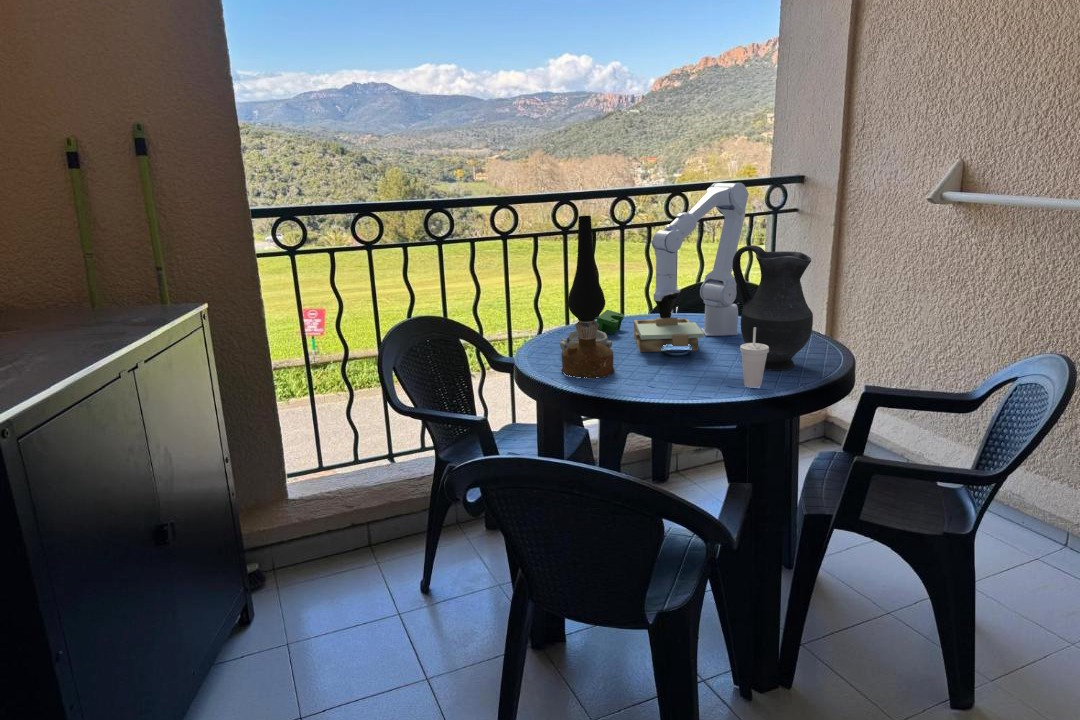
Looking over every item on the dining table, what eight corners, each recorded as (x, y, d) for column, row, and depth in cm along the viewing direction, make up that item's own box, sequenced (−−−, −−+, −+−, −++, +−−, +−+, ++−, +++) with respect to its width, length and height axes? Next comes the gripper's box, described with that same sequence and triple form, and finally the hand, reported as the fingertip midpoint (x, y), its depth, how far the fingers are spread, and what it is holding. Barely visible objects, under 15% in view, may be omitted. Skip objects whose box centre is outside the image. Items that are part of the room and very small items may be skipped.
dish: (560, 359, 185) (559, 342, 183) (560, 346, 198) (559, 329, 197) (613, 358, 184) (613, 340, 183) (609, 344, 197) (609, 328, 196)
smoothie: (761, 381, 161) (764, 324, 157) (771, 390, 155) (774, 331, 151) (734, 382, 161) (737, 325, 157) (743, 391, 155) (746, 332, 150)
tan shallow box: (687, 334, 204) (687, 318, 202) (697, 350, 188) (698, 332, 186) (633, 336, 205) (634, 320, 203) (639, 351, 188) (639, 334, 187)
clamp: (610, 348, 209) (614, 326, 202) (592, 343, 210) (595, 320, 204) (623, 325, 217) (626, 303, 210) (605, 320, 218) (608, 298, 212)
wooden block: (656, 336, 190) (656, 332, 190) (657, 339, 188) (657, 334, 187) (635, 337, 190) (635, 332, 190) (636, 339, 188) (636, 334, 188)
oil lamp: (618, 378, 178) (643, 225, 171) (603, 386, 164) (629, 220, 157) (569, 367, 183) (592, 218, 176) (550, 375, 169) (573, 213, 162)
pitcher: (790, 380, 161) (800, 254, 152) (713, 364, 175) (717, 248, 166) (820, 362, 172) (830, 245, 164) (745, 349, 186) (751, 240, 178)
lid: (694, 331, 193) (695, 316, 192) (704, 345, 179) (704, 328, 178) (636, 333, 194) (636, 317, 192) (641, 346, 180) (641, 330, 179)
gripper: (671, 278, 181) (670, 328, 185) (688, 270, 193) (686, 316, 197) (646, 277, 184) (646, 325, 188) (664, 269, 196) (663, 314, 200)
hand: (665, 321), depth 193 cm, fingers closed
